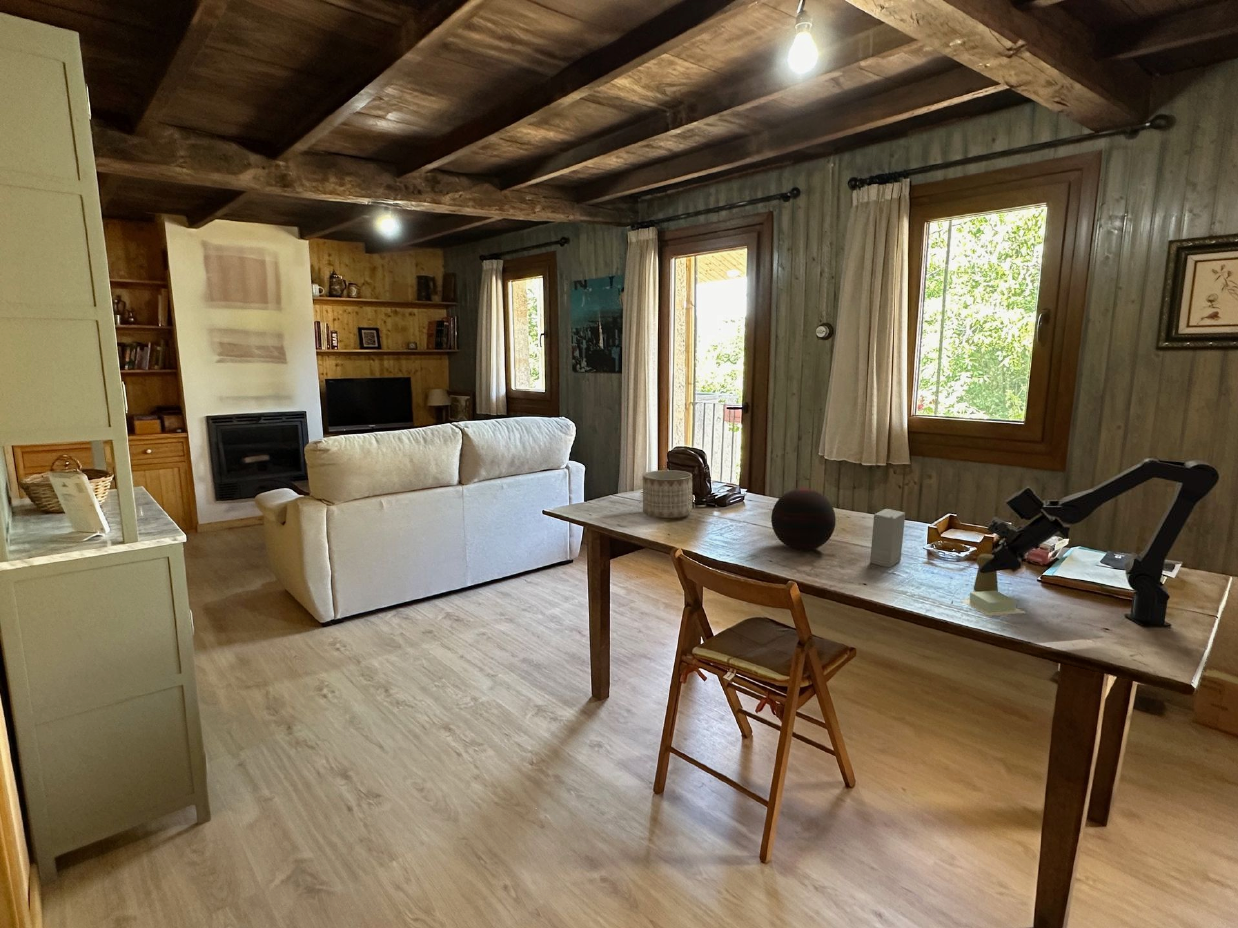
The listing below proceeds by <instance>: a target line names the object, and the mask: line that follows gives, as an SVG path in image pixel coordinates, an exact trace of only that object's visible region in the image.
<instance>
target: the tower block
mask: <svg viewBox="0 0 1238 928" xmlns="http://www.w3.org/2000/svg"><path fill="white" fill-rule="evenodd" d="M969 599H970V602H971V603H973V604H974V605H976V606H978V607H980V608H981V609H983V610H985V611H987V612H988V613H990V612H1003V611H1015V607H1016V605H1017V600H1015V599H1013V598H1012V597H1009V596H1008V595H1005V594H1004V593H1002V592H1000V591H999V590H998V591H996V590H995V591H982V592H977V591H970V593H969ZM1016 608H1017V607H1016Z"/></svg>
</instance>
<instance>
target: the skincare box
mask: <svg viewBox="0 0 1238 928" xmlns="http://www.w3.org/2000/svg"><path fill="white" fill-rule="evenodd" d="M905 520H906V512H903V511H899V510H894V509H889V508H885V509H882V510H880V511H879V512H876V513H874V514H873V523H872V524H873V525H872V538H871V549H870V560H869V563H870V564H874V565H878V566H881V567H885V568H892V567H893V566H894V565H896V564H897V563H899V562H901V559H902V551H903V543H904V542H903V540H904V530H905V522H906V521H905Z"/></svg>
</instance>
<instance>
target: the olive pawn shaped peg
mask: <svg viewBox="0 0 1238 928" xmlns="http://www.w3.org/2000/svg"><path fill="white" fill-rule="evenodd" d="M993 556H994V555H991V554H990V553H989V554H988V553H982V554H979V555H978V556H977V558H976V564H977V567H978V569H977V573H976V577H975V581H974V584H973V590H974V592H982V591H995V590H996V591H998V592H999V588H998V585H999V584H998V571H994V572H988V573H981V572H980V571H979V570H980V569H981V568H982V567H983V566H984V565H985V564H986V563H987V562H988V561H989V560H990V559H991V558H992V557H993Z"/></svg>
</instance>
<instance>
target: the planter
mask: <svg viewBox="0 0 1238 928" xmlns="http://www.w3.org/2000/svg"><path fill="white" fill-rule="evenodd" d="M642 512H643V514H645V515H646V516H649V517H652V518H657V519H660V520H661V519H662V520H673V519H678V518H682V517H683V518H684V517H687V516H689V515H691V513H693V474H692V472H688V471H684V470H675V469H674V470H672V469H670V470H669V469H668V470H667V469H665V470H664V469H663V470H662V469H660V470H652V471H651V470H650V471H647V472H644V473H642Z"/></svg>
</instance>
